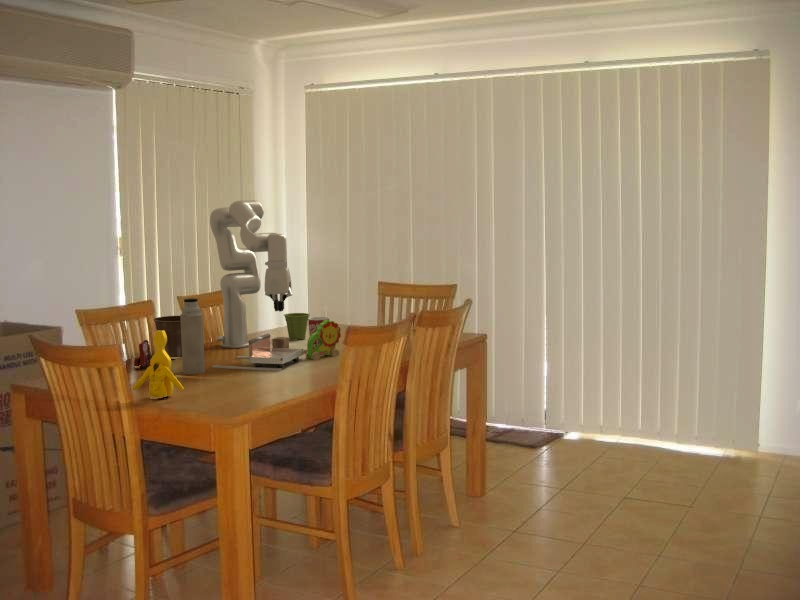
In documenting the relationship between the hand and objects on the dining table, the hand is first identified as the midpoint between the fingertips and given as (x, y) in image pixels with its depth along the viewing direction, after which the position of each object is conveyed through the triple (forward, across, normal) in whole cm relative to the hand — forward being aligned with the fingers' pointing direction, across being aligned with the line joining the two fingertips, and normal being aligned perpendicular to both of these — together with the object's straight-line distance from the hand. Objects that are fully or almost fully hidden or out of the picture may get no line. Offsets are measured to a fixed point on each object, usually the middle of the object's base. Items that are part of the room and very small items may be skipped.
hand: (279, 310), depth 373 cm
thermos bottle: (+19, -18, -38) cm, 46 cm away
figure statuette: (+19, -8, -76) cm, 79 cm away
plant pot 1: (+19, -43, -8) cm, 48 cm away
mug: (+19, +8, +22) cm, 30 cm away
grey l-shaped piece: (+18, +7, -19) cm, 27 cm away
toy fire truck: (+19, -43, -30) cm, 56 cm away
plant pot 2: (+19, -12, +45) cm, 51 cm away
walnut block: (+19, 0, 0) cm, 19 cm away
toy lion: (+19, +18, +2) cm, 27 cm away
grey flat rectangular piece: (+19, -1, -19) cm, 27 cm away
